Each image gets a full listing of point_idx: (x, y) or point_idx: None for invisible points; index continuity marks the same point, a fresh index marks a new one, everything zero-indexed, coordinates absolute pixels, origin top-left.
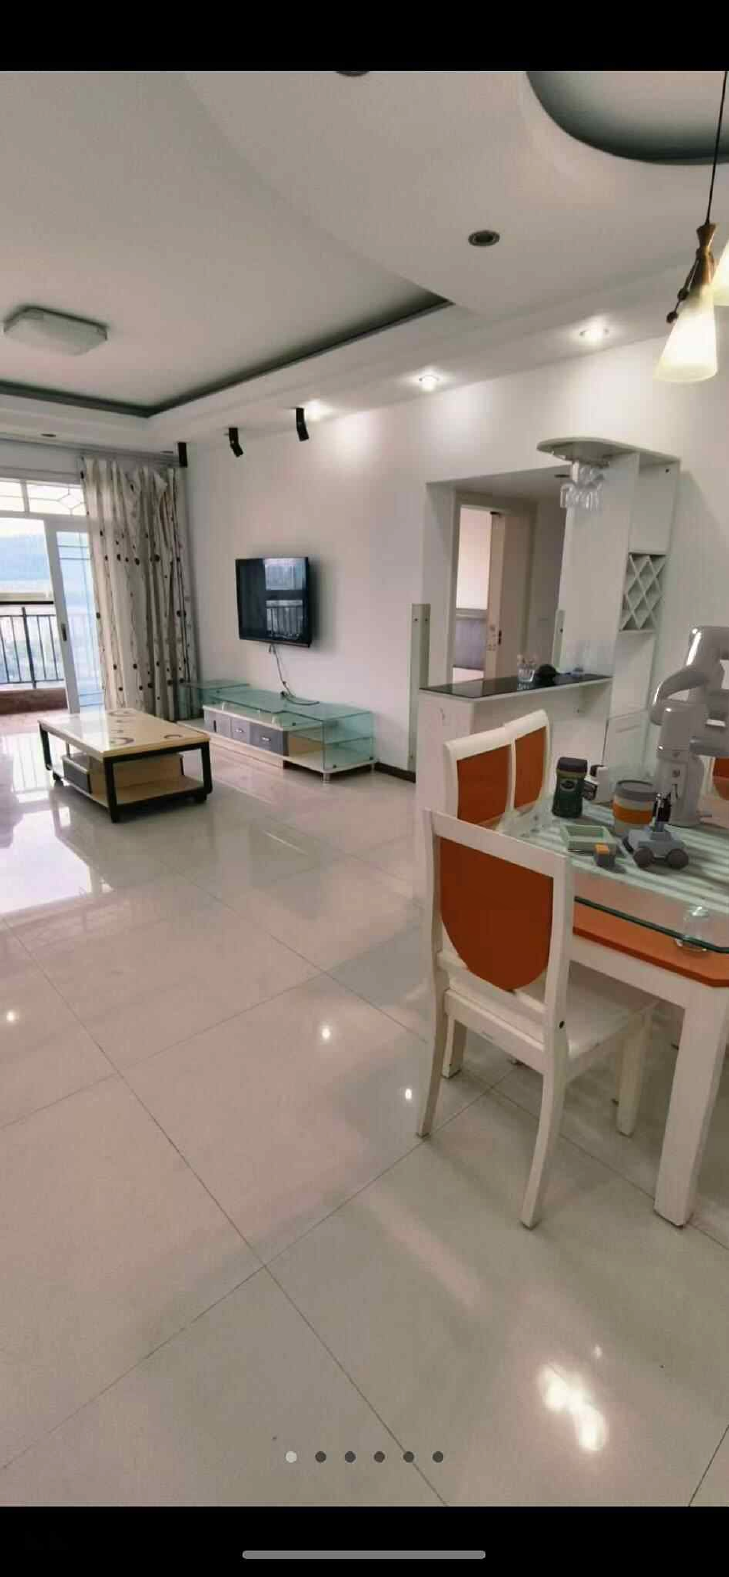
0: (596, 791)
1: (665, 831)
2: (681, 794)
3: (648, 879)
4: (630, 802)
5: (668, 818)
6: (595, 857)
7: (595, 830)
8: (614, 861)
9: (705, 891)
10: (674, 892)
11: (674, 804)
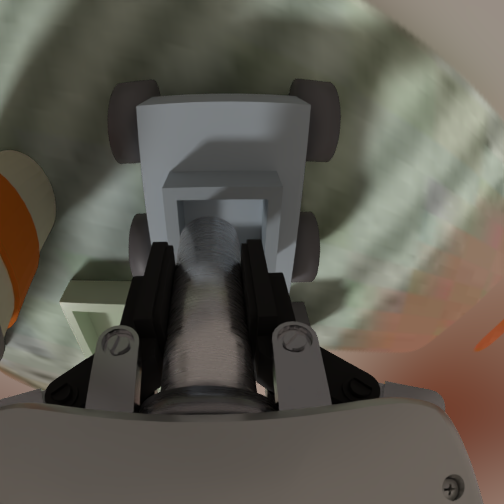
0: None
1: (224, 195)
2: (464, 452)
3: (386, 238)
4: (4, 329)
5: (264, 258)
6: None
7: (82, 317)
8: (306, 313)
9: (462, 111)
10: (455, 199)
11: (433, 393)
